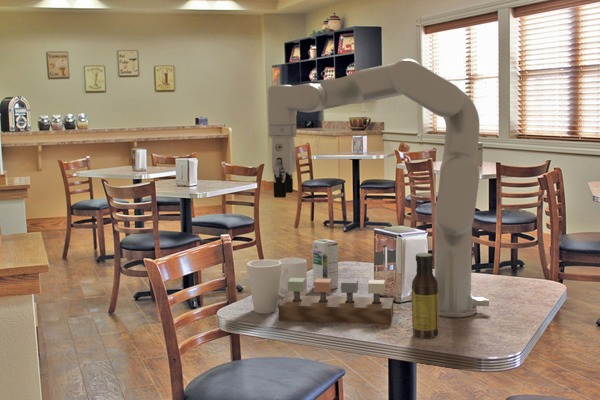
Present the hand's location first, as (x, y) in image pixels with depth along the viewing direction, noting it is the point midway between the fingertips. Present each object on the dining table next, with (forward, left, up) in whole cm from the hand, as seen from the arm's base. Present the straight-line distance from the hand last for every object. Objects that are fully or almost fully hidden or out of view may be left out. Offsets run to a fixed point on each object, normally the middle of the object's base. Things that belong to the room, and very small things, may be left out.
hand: (283, 194), depth 202 cm
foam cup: (+5, +4, -31) cm, 32 cm away
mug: (+1, -10, -31) cm, 33 cm away
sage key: (-5, +8, -27) cm, 29 cm away
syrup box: (-8, -21, -31) cm, 39 cm away
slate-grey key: (-19, +8, -27) cm, 34 cm away
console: (-15, +8, -31) cm, 35 cm away
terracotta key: (-12, +8, -27) cm, 30 cm away
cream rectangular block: (-26, +8, -27) cm, 38 cm away
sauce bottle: (-38, +21, -31) cm, 53 cm away
